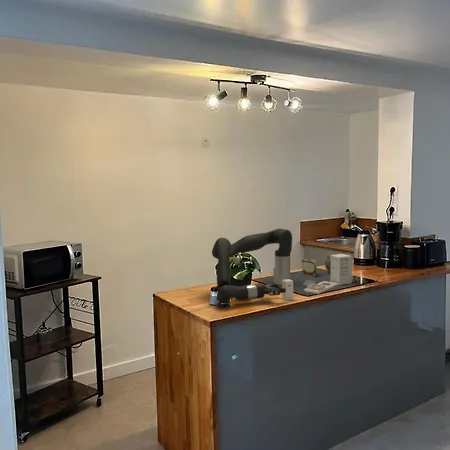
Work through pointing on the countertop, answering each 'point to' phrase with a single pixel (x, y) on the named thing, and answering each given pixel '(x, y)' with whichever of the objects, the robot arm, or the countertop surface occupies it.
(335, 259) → the supplement box
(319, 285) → the pale grey tray
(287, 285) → the charger
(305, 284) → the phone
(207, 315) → the countertop surface
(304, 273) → the food container
